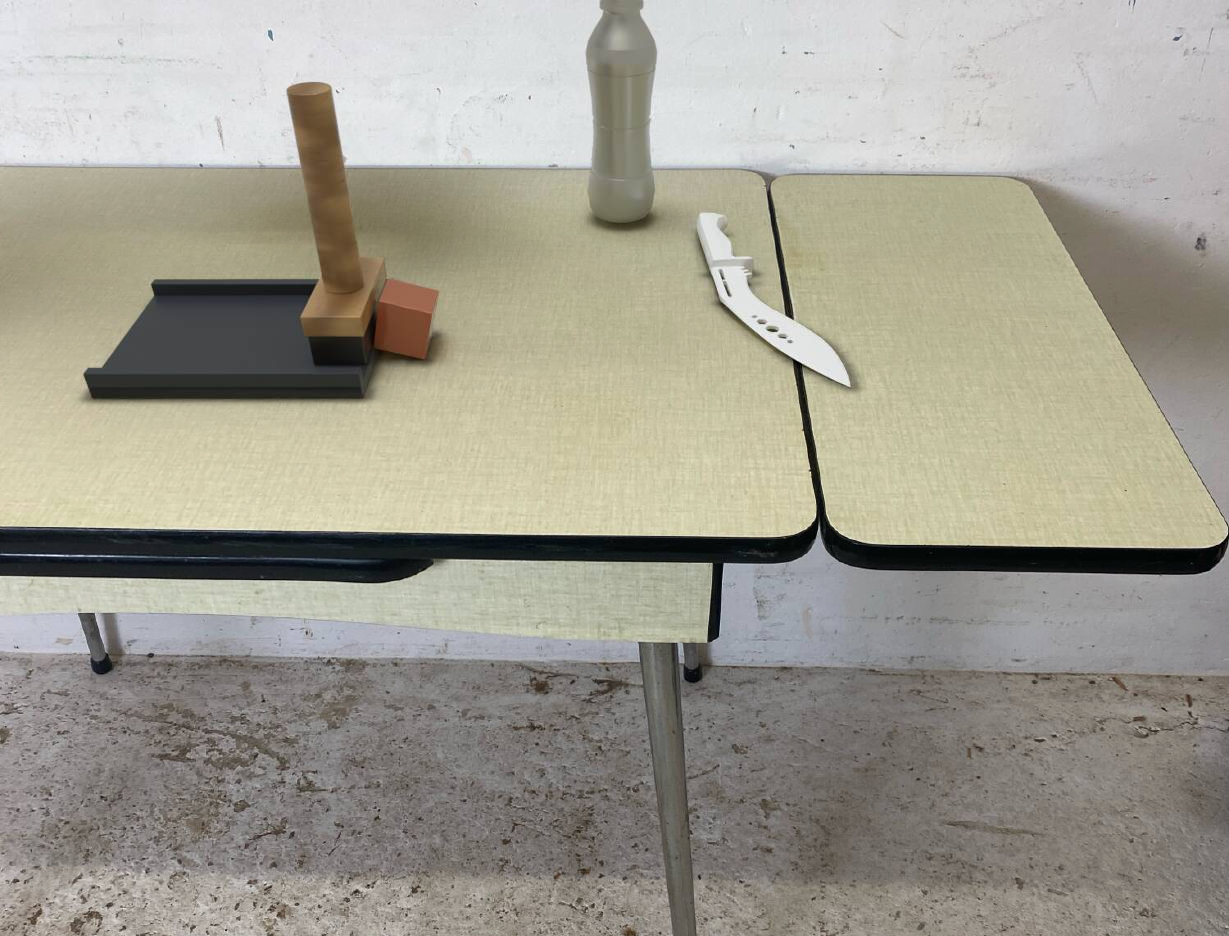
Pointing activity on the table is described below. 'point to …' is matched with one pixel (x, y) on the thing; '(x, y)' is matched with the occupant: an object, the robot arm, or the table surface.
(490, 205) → the table surface
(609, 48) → the plastic bottle
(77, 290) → the table surface
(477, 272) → the table surface
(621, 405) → the table surface
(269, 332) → the tray
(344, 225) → the brush
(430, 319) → the block
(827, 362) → the knife
